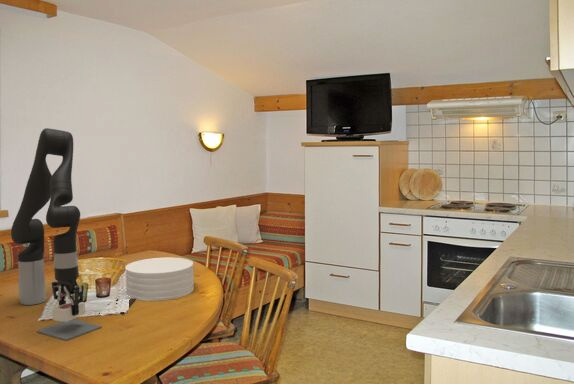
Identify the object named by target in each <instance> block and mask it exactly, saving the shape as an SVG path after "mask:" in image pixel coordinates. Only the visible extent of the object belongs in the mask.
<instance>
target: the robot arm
mask: <svg viewBox="0 0 574 384" xmlns="http://www.w3.org/2000/svg"><path fill="white" fill-rule="evenodd" d="M48 155H52V156H57V157H58V156H59V157H62V161H61V163H60V164H59V166H58V167H57V169H55V171H54V172H53V173H51V170H50V169H49V166H48V164H47V157H48ZM73 160H74V137H73V134H72V133H71V132H69V131H66V130H60V129H55V128H50V127H49V128H43V129H42V131H41V132H40V134H39V138H38V143H37V146H36V151H35V155H34V160H33V164H32V167H31V171H30V174H29V177H28V179H27V182H26V187H25V190H24V193H23V198H22V200H21V203H20V206H19V208H18V211H17V214H16V216H15V218H14V221H13V223H12V226H11V230H10V236H11V240H12V242H13V243H14V244H17V245H25V244H28V246H27V247H26V248H25V249H24V250H22V251H20V252H19V253H18V254H17V265H18V266H17V267H18V280H17V281H18V283H17V284H18V298H19V302H20V304H21V305H24V306H33V305H38V304H42V303H44V302H46V301H47V296H46V295H47V294H46V277H45V261H44V259H45V257H44V255H45V226H44V224H43V221H41V220H40V219H38V218H34V217H35V216H36V215H37V213H38V212H40V210H42V209H43V208H44V207H45V206H46V205H47V204H48V202H49V204H48V209H47V211H46V214H45V221H46V224H47V225H48V226H49V227H50V228H51V229H58V228H60V229H61V228H69V229H68V230H67V231H66V232H64V233H60V234H56V235H55V236H54V237H53V239H52V242H53V253H54V254H53V270H54V271H53V272H54V280H55V281H53V282H51V289H52V295H53V299H54V300H56V301H57V302H58V306H60V305H63V304H66V303H67V301H66V298H67V299H68V300H70V301H69V302H71V304H72V305H71V308H72V315H73V316H75V315H78V314H79V303H81V302H84V287H85V286H84V285H78V282H77V279H78V278H80V275H79V274H80V273H79V272H80V271H79V256H78V251H77V233H78V228H79V223H80V220H81V211H80V209H79V208H78V207H77V206H76V205H68V204H70V203H71V202H73V199H74V198H73V197H74V196H73V184H72V183H73V181H72V171H73Z"/></svg>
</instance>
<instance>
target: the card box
mask: <svg viewBox="0 0 574 384" xmlns="http://www.w3.org/2000/svg"><path fill="white" fill-rule="evenodd" d="M71 305H72V304H71V301H68V302H66V304H63V305H60V306H59V305H58V306H55V307H53V308H52V309H51V310H52V321H54V322H55V321H56V322H67V321H69V320H72V319H76V318H78V317H80V316H83V315H85V314H86V302H84V301H83V302H81V303H79V314H78V315H75V316H73V315H72V308H71Z"/></svg>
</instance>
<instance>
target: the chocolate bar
mask: <svg viewBox="0 0 574 384" xmlns="http://www.w3.org/2000/svg"><path fill="white" fill-rule="evenodd" d="M116 299H117V300H116V301H118V299H119V298H116ZM129 299H130V300H129V308H131V307H132V305H133V304H134V303H135V301H136V299H132V298H129ZM116 304H117V303H116ZM99 314H100V312H99V313H98V315H99ZM105 314H123V315H124V314H125V313H124V312H115V313H105Z"/></svg>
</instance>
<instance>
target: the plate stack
mask: <svg viewBox="0 0 574 384" xmlns="http://www.w3.org/2000/svg"><path fill="white" fill-rule="evenodd" d="M194 278H195V277H194V261H192V260H190V259H187V258H183V257H167V256H166V257H156V258H155V257H153V258H145V259H144V258H143V259H141V260H140V259H139V260H135V261H133V262H129V263H128V264H127V265H125V283H126V284H125V289H126V291H125V294H126V293H127V294H126V296H127V295H128V296H130V297H131V298H130V297H129V298H130V299H136V300H138V301H144V302H145V301H147V302H153V301H156V302H157V301H168V300H174V299H178V298H182V297H185V296H188V295H190V294H191V293H193V292H194V290H195V286H194V284H195V281H194ZM128 296H127V297H128ZM136 300H135V301H136Z"/></svg>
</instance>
